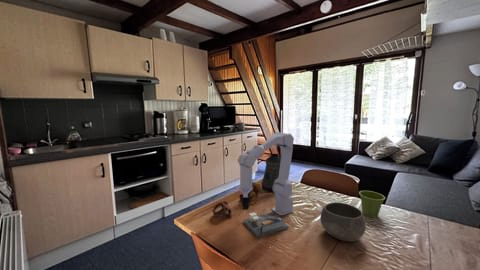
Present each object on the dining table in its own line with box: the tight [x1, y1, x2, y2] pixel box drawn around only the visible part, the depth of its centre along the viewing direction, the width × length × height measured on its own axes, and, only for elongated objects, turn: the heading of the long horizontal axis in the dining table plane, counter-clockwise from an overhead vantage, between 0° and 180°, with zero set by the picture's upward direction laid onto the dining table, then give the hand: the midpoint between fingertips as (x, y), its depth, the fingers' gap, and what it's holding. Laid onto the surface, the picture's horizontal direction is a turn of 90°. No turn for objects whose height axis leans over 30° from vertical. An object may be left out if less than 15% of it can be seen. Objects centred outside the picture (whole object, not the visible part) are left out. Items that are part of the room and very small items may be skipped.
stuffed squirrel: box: [238, 180, 263, 206], centre depth 128 cm, size 10×14×13 cm
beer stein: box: [260, 153, 282, 193], centre depth 148 cm, size 16×19×25 cm
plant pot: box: [358, 190, 386, 218], centre depth 110 cm, size 12×12×11 cm
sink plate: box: [242, 212, 289, 239], centre depth 100 cm, size 17×14×4 cm
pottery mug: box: [212, 200, 233, 219], centre depth 109 cm, size 12×10×8 cm
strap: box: [256, 213, 282, 221], centre depth 98 cm, size 14×3×1 cm, turn 117°
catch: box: [248, 212, 260, 222], centre depth 100 cm, size 3×6×3 cm, turn 26°
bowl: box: [320, 202, 367, 242], centre depth 91 cm, size 18×18×13 cm
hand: (246, 205), depth 99 cm, fingers open, 7 cm apart
